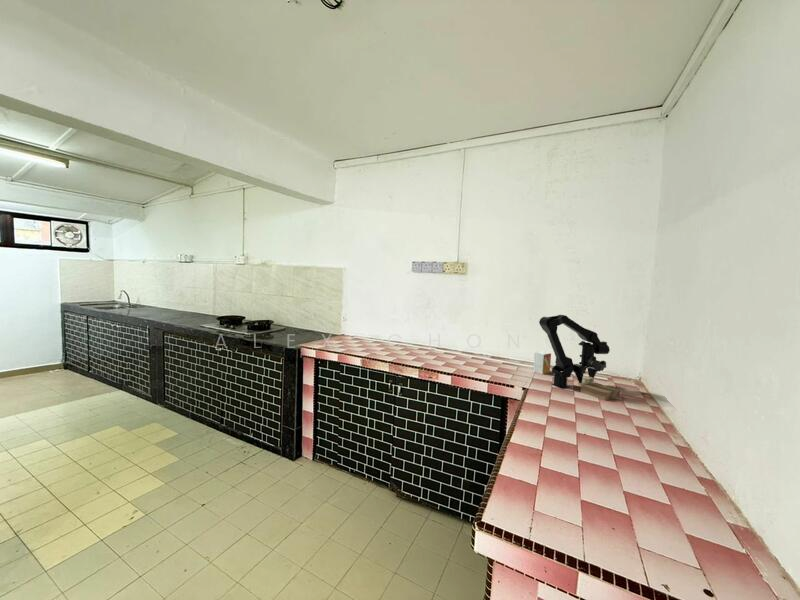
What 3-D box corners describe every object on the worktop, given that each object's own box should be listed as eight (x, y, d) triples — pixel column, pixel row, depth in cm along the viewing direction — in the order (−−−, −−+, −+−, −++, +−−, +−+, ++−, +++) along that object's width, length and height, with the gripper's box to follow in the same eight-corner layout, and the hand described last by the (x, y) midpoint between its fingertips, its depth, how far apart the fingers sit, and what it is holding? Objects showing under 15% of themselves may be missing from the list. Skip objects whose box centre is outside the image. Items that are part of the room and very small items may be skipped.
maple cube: (587, 388, 162) (587, 379, 162) (578, 385, 167) (578, 376, 166) (593, 387, 164) (593, 378, 164) (584, 384, 169) (584, 375, 169)
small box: (542, 376, 181) (543, 354, 181) (532, 373, 187) (534, 352, 186) (550, 374, 186) (551, 353, 185) (540, 371, 191) (541, 351, 190)
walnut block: (604, 401, 145) (605, 393, 145) (580, 392, 156) (580, 385, 156) (619, 397, 150) (620, 390, 150) (594, 389, 161) (595, 382, 161)
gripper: (592, 358, 153) (589, 389, 154) (613, 356, 161) (611, 384, 162) (571, 353, 163) (569, 382, 164) (592, 351, 171) (590, 378, 172)
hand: (585, 382), depth 165 cm, fingers open, 9 cm apart
